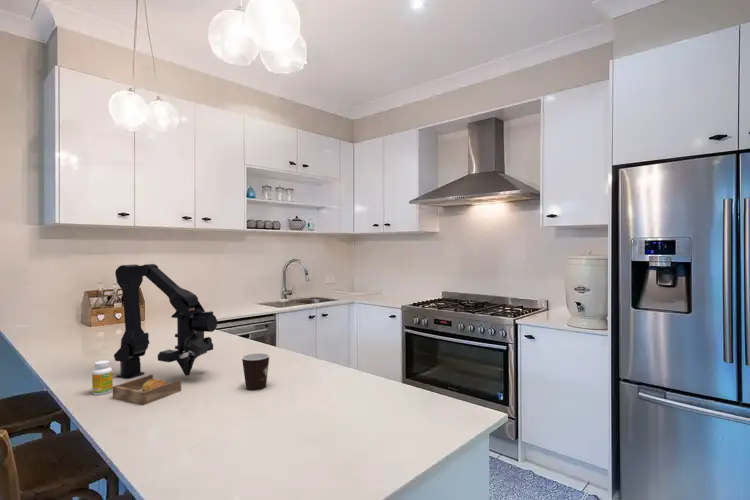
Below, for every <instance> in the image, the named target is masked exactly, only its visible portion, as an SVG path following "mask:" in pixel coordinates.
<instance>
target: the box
mask: <svg viewBox="0 0 750 500" xmlns="http://www.w3.org/2000/svg"><path fill="white" fill-rule="evenodd" d="M150 379H154V374H149V375H145V376H142V377H138V378H135V379H132V380H129V381H125V382H123V383H120V384H118V385H113V390H112V399H115V400H120V401H122V402H123V401H124V402H128V403H132V404H133V403H134V404H138V405H142V406H146V405H148V404H150V403H154V402H156V401H158V400H161V399H164V398H166V397H169V396H171V395H174V394H176V393H179V392H181V391H182V380H181V379H176V380H173V381H171V382H169V383H167V382H166V383H167V384H165V385H162V386H159V387H156V388H153V389H151V390H148V391H145V392H144V391H142V389H141V388H142V386H143V384H144V383H145V382H147V381H148V380H150Z"/></svg>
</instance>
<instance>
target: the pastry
mask: <svg viewBox="0 0 750 500" xmlns="http://www.w3.org/2000/svg"><path fill="white" fill-rule="evenodd" d="M165 384H167V382H166V381H165V380H163V379H157V378H153V379H150V380H148V381H147V382H145V383H144V384H143V386H142V388H141V391H144V392H145V391H148V390H151V389H153V388H156V387H159V386H162V385H165Z"/></svg>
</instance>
